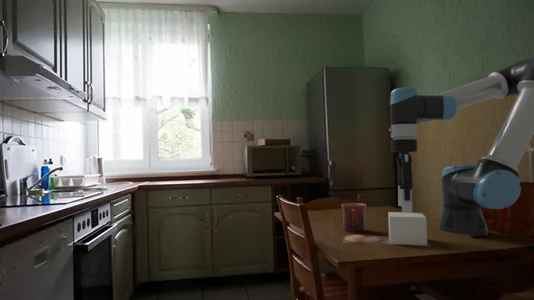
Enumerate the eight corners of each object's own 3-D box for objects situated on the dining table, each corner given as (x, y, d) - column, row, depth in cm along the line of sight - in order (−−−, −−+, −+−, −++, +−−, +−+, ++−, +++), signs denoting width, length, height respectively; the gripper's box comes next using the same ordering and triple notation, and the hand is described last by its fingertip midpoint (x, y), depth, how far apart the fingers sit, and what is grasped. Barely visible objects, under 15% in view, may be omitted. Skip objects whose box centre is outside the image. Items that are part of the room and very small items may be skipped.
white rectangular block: (422, 238, 115) (421, 212, 116) (427, 245, 107) (426, 217, 107) (388, 237, 118) (388, 212, 118) (390, 243, 109) (389, 216, 110)
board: (425, 241, 116) (425, 236, 116) (431, 250, 105) (431, 245, 105) (344, 238, 123) (344, 234, 123) (342, 246, 112) (342, 241, 112)
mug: (341, 231, 135) (341, 203, 136) (366, 231, 134) (365, 203, 134) (341, 238, 124) (340, 207, 124) (368, 238, 122) (367, 207, 122)
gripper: (388, 141, 126) (389, 203, 126) (393, 137, 102) (394, 214, 101) (412, 140, 124) (413, 204, 124) (422, 136, 100) (424, 215, 100)
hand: (404, 208), depth 113 cm, fingers open, 13 cm apart
